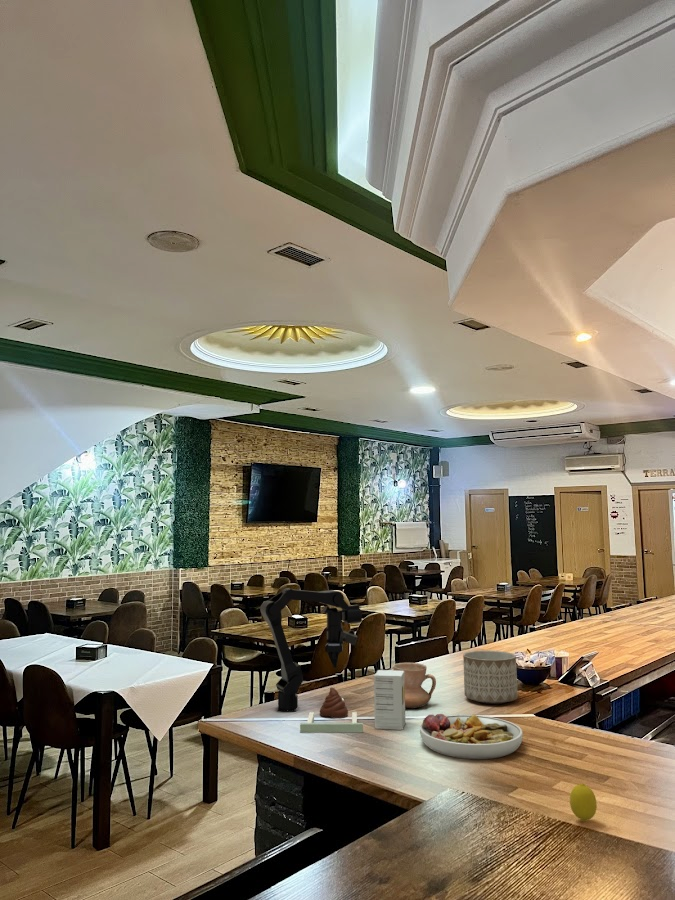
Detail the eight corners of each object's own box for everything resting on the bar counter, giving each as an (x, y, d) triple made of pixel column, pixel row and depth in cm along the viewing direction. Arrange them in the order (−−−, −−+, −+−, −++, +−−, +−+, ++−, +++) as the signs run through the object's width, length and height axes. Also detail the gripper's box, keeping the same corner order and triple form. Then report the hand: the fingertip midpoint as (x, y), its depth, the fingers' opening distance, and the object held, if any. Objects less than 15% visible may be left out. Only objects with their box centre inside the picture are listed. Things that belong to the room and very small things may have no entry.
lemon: (566, 817, 151) (564, 779, 152) (590, 815, 151) (588, 778, 152) (577, 827, 146) (575, 788, 146) (602, 826, 146) (600, 787, 147)
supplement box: (402, 730, 217) (401, 676, 218) (374, 729, 218) (373, 675, 220) (405, 722, 226) (404, 670, 228) (378, 720, 228) (377, 669, 230)
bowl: (526, 735, 211) (525, 709, 212) (519, 768, 183) (517, 737, 184) (431, 727, 221) (430, 702, 221) (410, 757, 192) (409, 728, 193)
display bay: (300, 732, 216) (300, 724, 216) (303, 719, 230) (303, 712, 230) (363, 732, 215) (362, 724, 215) (362, 719, 229) (362, 711, 230)
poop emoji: (316, 717, 233) (315, 689, 234) (325, 711, 241) (325, 683, 242) (343, 719, 230) (342, 691, 231) (351, 713, 238) (351, 685, 239)
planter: (499, 692, 265) (498, 649, 267) (528, 704, 247) (526, 657, 249) (455, 696, 259) (454, 652, 261) (481, 709, 241) (479, 661, 243)
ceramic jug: (386, 710, 240) (386, 669, 242) (386, 699, 255) (386, 661, 256) (437, 712, 239) (437, 670, 240) (434, 701, 253) (434, 662, 255)
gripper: (355, 628, 244) (356, 672, 242) (356, 621, 263) (356, 662, 261) (325, 628, 245) (325, 673, 243) (327, 621, 263) (327, 662, 261)
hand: (334, 667), depth 252 cm, fingers closed
